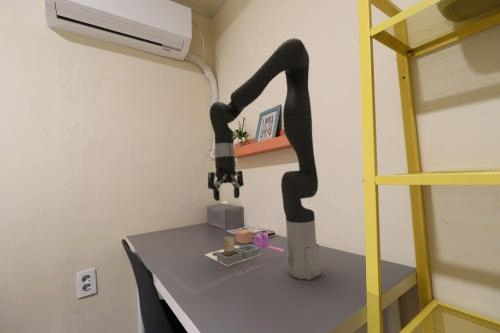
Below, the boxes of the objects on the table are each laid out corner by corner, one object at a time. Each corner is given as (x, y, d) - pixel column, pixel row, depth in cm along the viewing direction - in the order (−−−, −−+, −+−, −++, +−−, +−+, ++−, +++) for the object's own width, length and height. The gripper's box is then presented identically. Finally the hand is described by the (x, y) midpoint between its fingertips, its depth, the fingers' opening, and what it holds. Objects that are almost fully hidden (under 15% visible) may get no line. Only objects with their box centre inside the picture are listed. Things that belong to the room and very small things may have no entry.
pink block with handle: (254, 251, 100) (253, 234, 100) (262, 247, 104) (261, 232, 105) (278, 257, 91) (277, 239, 92) (286, 253, 95) (285, 236, 96)
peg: (237, 259, 86) (236, 238, 87) (228, 262, 84) (227, 240, 84) (231, 257, 89) (230, 236, 90) (222, 260, 87) (221, 238, 87)
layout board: (261, 258, 91) (261, 247, 91) (227, 270, 81) (226, 258, 81) (236, 248, 104) (236, 239, 104) (204, 258, 94) (204, 248, 94)
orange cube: (253, 244, 110) (252, 231, 110) (243, 247, 106) (242, 233, 106) (245, 241, 115) (245, 229, 115) (235, 244, 111) (235, 231, 111)
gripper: (234, 157, 95) (237, 196, 95) (203, 157, 86) (205, 200, 86) (245, 155, 89) (248, 197, 89) (213, 155, 80) (215, 202, 80)
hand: (227, 199), depth 87 cm, fingers open, 8 cm apart
